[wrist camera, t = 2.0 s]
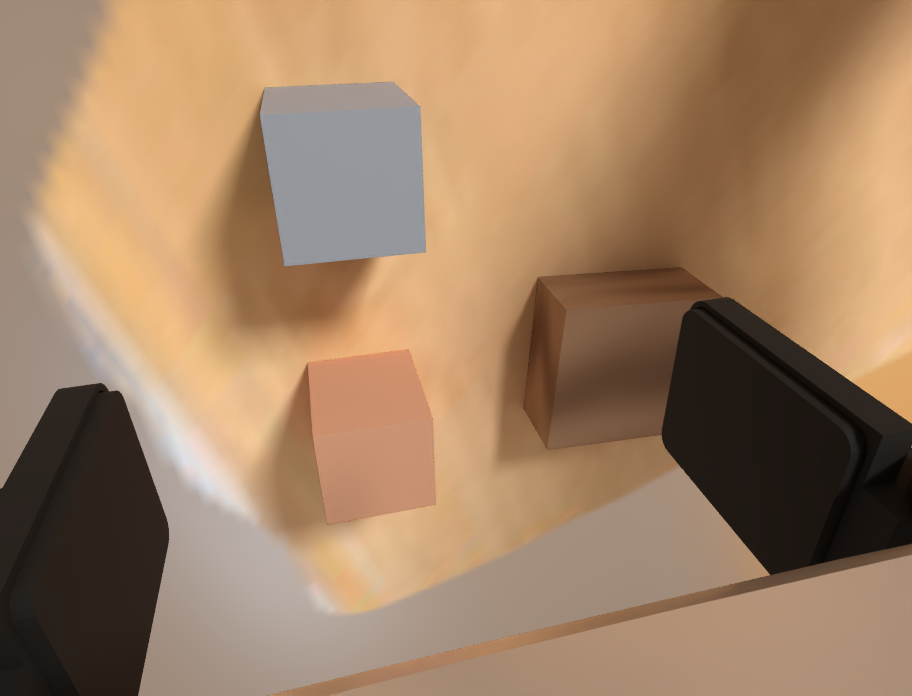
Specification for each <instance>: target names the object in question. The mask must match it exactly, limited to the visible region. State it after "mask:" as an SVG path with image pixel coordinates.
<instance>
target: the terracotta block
mask: <svg viewBox="0 0 912 696" xmlns="http://www.w3.org/2000/svg"><path fill="white" fill-rule="evenodd" d="M308 374H309V389H310V404H311V419H312V434H313V442H314V448H315V454H316V460H317V466H318V472H319V479H320V485H321V491H322V497H323V503H324V509H325V515H326V521H327V525H328V524H334V523H339V522H345V521H350V520H356V519H361V518H367V517H372V516H378V515H383V514H389V513H394V512H400V511H405V510H411V509H416V508H422V507H427V506H433V505H436V491H435V466H434V440H433V418H432V415H431V412H430V409H429V406H428V403H427V400H426V398H425V395H424V392H423V389H422V386H421V383H420V380H419V377H418V374H417V371H416V369H415V366H414V363H413V360H412V357H411V354H410V351H409V349H406V350H398V351H391V352H383V353H375V354H368V355H360V356H352V357H345V358H337V359H330V360H322V361H314V362H308Z"/></svg>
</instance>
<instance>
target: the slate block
mask: <svg viewBox="0 0 912 696" xmlns="http://www.w3.org/2000/svg"><path fill="white" fill-rule="evenodd" d="M260 120H261V126H262V132H263V138H264V144H265V151H266V157H267V163H268V169H269V175H270V181H271V187H272V193H273V199H274V205H275V211H276V217H277V224H278V230H279V236H280V242H281V248H282V254H283V260H284V266H294V265H304V264H314V263H324V262H334V261H344V260H354V259H364V258H374V257H384V256H394V255H403V254H413V253H423V252H426V239H425V214H424V189H423V164H422V138H421V113H420V106H419V105H418V104H417V103H416V102H415V101H414V100H413V99H412V98H411V97H409V96H408V95H407V94H406V93H405V92H404V91H403V90H402V89H401V88H399V87H398V86H397V85H396V84H395V83H394V82H375V83H354V84H332V85H311V86H289V87H268V88H265V89H264V94H263V100H262V105H261V110H260Z"/></svg>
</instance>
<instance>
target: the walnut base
mask: <svg viewBox="0 0 912 696" xmlns="http://www.w3.org/2000/svg"><path fill="white" fill-rule="evenodd" d="M717 298H723V297H722V296H720V295H719V294H717V293H716V292H715V291H713V290H712V289H710V288H709V287H708V286H706V285H705V284H703V283H702V282H701V281H699V280H698V279H697V278H695V277H694V276H692V275H691V274H690V273H688V272H687V271H685V270H684V269H683V268H666V269H651V270H636V271H621V272H606V273H590V274H575V275H560V276H545V277H538V281H537V290H536V300H535V309H534V318H533V327H532V337H531V346H530V355H529V364H528V374H527V383H526V392H525V402H524V409H525V411H526V413H527V415H528V417H529V418H530V420H531V422H532V424H533V425H534V427H535V429H536V431H537V432H538V434H539V436H540V438H541V439H542V441H543V443H544V445H545V447H546V448H547V450H550V449H557V448H565V447H572V446H580V445H587V444H595V443H603V442H610V441H618V440H625V439H633V438H641V437H648V436H656V435H662V426H663V420H664V415H665V409H666V404H667V398H668V393H669V388H670V382H671V377H672V371H673V366H674V360H675V355H676V350H677V344H678V339H679V333H680V328H681V323H682V318H683V315H684V314H685V312H687V311H688V310H690V308H691V307H692V305H693V304H694V303H695V302H697V301H702V300H710V299H717Z"/></svg>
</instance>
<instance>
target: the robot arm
mask: <svg viewBox="0 0 912 696" xmlns="http://www.w3.org/2000/svg"><path fill="white" fill-rule="evenodd" d="M662 440H663V443H664V446H665V448H666V449H667V451H668V452H669V453H670V455H671V456H672V457H673V458H674V459H675V461H676V462H677V463H678V464H679V465H680V467H681V468H682V469H683V470H684V471H685V473H686V474H687V475H688V476H689V477H690V479H691V480H692V481H693V482H694V483H695V485H696V486H697V487H698V488H699V489H700V491H701V492H702V493H703V494H704V495H705V497H706V498H707V499H708V500H709V502H710V503H711V504H712V505H713V506H714V507H715V509H716V510H717V511H718V512H719V514H720V515H721V516H722V517H723V518H724V520H725V521H726V522H727V523H728V524H729V526H730V527H731V528H732V529H733V531H734V532H735V533H736V534H737V535H738V537H739V538H740V539H741V540H742V541H743V543H744V544H745V545H746V546H747V547H748V548H749V550H750V551H751V552H752V553H753V555H754V556H755V557H756V558H757V559H758V561H759V562H760V563H761V564H762V566H764V568H765V569H766V570H767V571H768V573H769V574H770V576H765V577H761V578H756V579H752V580H748V581H744V582H739V583H735V584H730V585H727V586H722V587H718V588H713V589H709V590H705V591H700V592H696V593H692V594H688V595H683V596H679V597H675V598H670V599H666V600H662V601H658V602H654V603H649V604H646V605H641V606H637V607H632V608H628V609H624V610H620V611H616V612H612V613H607V614H603V615H599V616H594V617H590V618H586V619H582V620H577V621H574V622H569V623H565V624H561V625H557V626H552V627H548V628H544V629H540V630H536V631H532V632H528V633H523V634H519V635H515V636H510V637H506V638H502V639H498V640H494V641H489V642H485V643H481V644H477V645H473V646H469V647H464V648H460V649H456V650H452V651H448V652H444V653H440V654H436V655H432V656H427V657H424V658H420V659H416V660H412V661H407V662H403V663H399V664H395V665H391V666H387V667H383V668H379V669H374V670H370V671H366V672H362V673H358V674H354V675H349V676H345V677H341V678H337V679H333V680H329V681H325V682H321V683H317V684H313V685H309V686H305V687H300V688H296V689H292V690H288V691H284V692H280V693H276V694H272V695H268V696H912V448H911V446H912V424H911V423H910V422H908V421H907V420H906V419H904V418H902V417H901V416H900V415H898V414H897V413H895V412H894V411H893V410H891V409H890V408H888V407H887V406H885V405H884V404H883V403H881V402H880V401H878V400H877V399H875V398H874V397H873V396H871V395H870V394H868V393H867V392H865V391H864V390H862V389H861V388H860V387H858V386H857V385H855V384H854V383H852V382H851V381H850V380H848V379H847V378H845V377H844V376H842V375H841V374H839V373H838V372H837V371H835V370H834V369H832V368H831V367H829V366H828V365H827V364H825V363H824V362H822V361H821V360H819V359H818V358H817V357H815V356H814V355H812V354H811V353H809V352H808V351H806V350H805V349H804V348H802V347H801V346H799V345H798V344H796V343H795V342H794V341H792V340H791V339H789V338H788V337H786V336H785V335H783V334H782V333H781V332H779V331H778V330H776V329H775V328H773V327H772V326H771V325H769V324H768V323H766V322H765V321H763V320H762V319H761V318H759V317H758V316H756V315H755V314H753V313H752V312H750V311H749V310H748V309H746V308H745V307H743V306H742V305H740V304H739V303H738V302H736V301H735V300H733V299H731V298H729V297H725V298H717V299H710V300H702V301H697V302H695V303H694V304H693V305H692V307H691V308H690V310H688V311H687V312H685V314H684V315H683V318H682V323H681V328H680V333H679V339H678V344H677V350H676V355H675V360H674V366H673V371H672V377H671V382H670V388H669V393H668V398H667V404H666V409H665V415H664V420H663V426H662ZM168 543H169V528H168V522H167V518H166V516H165V513H164V510H163V507H162V504H161V502H160V499H159V496H158V493H157V490H156V487H155V485H154V482H153V479H152V476H151V473H150V471H149V468H148V465H147V462H146V459H145V457H144V454H143V451H142V448H141V445H140V443H139V440H138V437H137V434H136V431H135V429H134V426H133V423H132V420H131V417H130V414H129V412H128V409H127V406H126V403H125V400H124V398H123V396H122V394H121V393H120V392H119V391H110V392H109V391H108V389H107V388H106V386H105V385H104V384H102V383H98V384H91V385H84V386H77V387H70V388H62V389H58V390H57V391H56V393H55V394H54V396H53V398H52V399H51V401H50V403H49V405H48V407H47V408H46V410H45V412H44V414H43V416H42V417H41V419H40V421H39V423H38V425H37V427H36V428H35V430H34V432H33V434H32V436H31V437H30V439H29V441H28V443H27V445H26V446H25V448H24V450H23V452H22V454H21V456H20V457H19V459H18V461H17V463H16V465H15V466H14V468H13V470H12V472H11V474H10V475H9V477H8V479H7V481H6V483H5V484H4V486H3V488H1V489H0V696H138V693H139V688H140V683H141V677H142V673H143V668H144V663H145V658H146V652H147V648H148V643H149V638H150V633H151V628H152V623H153V618H154V613H155V608H156V603H157V598H158V593H159V588H160V583H161V578H162V573H163V568H164V563H165V558H166V553H167V548H168Z"/></svg>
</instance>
